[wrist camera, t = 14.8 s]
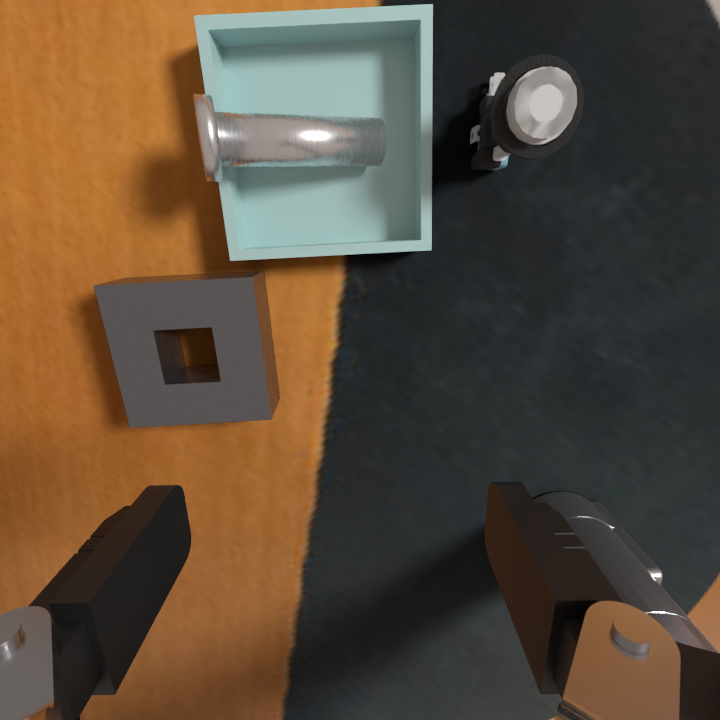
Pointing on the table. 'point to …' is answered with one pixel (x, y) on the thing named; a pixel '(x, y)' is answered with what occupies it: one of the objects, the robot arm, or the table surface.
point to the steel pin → (284, 140)
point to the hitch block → (165, 356)
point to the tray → (327, 98)
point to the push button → (527, 112)
